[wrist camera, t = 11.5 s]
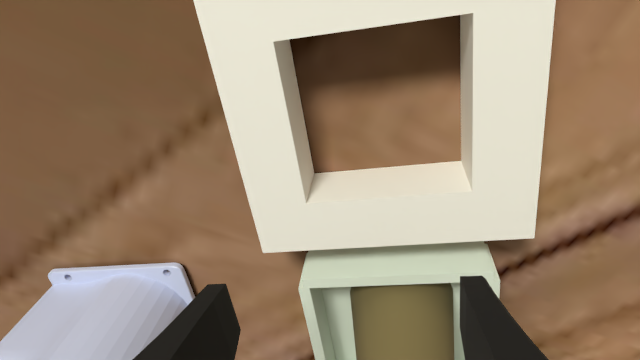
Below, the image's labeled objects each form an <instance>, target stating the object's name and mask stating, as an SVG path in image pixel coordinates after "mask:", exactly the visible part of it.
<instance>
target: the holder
mask: <svg viewBox="0 0 640 360" xmlns="http://www.w3.org/2000/svg"><path fill="white" fill-rule="evenodd" d="M193 1H194V4H195V8H196V12H197V15H198V19H199V22H200V26H201V30H202V33H203V37H204V41H205V44H206V48H207V51H208V55H209V59H210V62H211V66H212V70H213V73H214V77H215V80H216V84H217V88H218V91H219V95H220V99H221V102H222V106H223V109H224V113H225V117H226V120H227V124H228V128H229V131H230V135H231V139H232V142H233V146H234V149H235V153H236V157H237V160H238V164H239V168H240V171H241V175H242V178H243V182H244V186H245V189H246V193H247V197H248V200H249V204H250V207H251V211H252V215H253V218H254V222H255V226H256V229H257V233H258V236H259V240H260V244H261V247H262V251H263V253H271V252H289V251H308V250H326V249H345V248H363V247H382V246H400V245H419V244H437V243H456V242H475V241H493V240H512V239H530V238H534V236H535V225H536V214H537V203H538V192H539V181H540V169H541V158H542V147H543V136H544V125H545V114H546V102H547V91H548V80H549V69H550V58H551V47H552V36H553V24H554V13H555V2H556V0H193ZM456 15H460V73H461V161H454V162H442V163H431V164H419V165H408V166H396V167H384V168H373V169H361V170H349V171H338V172H326V173H314V169H313V164H312V158H311V153H310V147H309V142H308V137H307V131H306V126H305V121H304V115H303V110H302V105H301V99H300V94H299V88H298V83H297V78H296V72H295V67H294V62H293V56H292V51H291V46H290V40H289V39H295V38H302V37H309V36H316V35H323V34H330V33H337V32H344V31H351V30H358V29H365V28H372V27H379V26H386V25H393V24H400V23H407V22H414V21H421V20H428V19H435V18H442V17H449V16H456Z"/></svg>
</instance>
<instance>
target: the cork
mask: <svg viewBox="0 0 640 360" xmlns="http://www.w3.org/2000/svg"><path fill="white" fill-rule="evenodd" d="M350 299H351V309H352V319H353V329H354V340H355V350H356V360H454V315H453V288H452V286H451V283H435V284H408V285H382V286H356V287H351V290H350Z"/></svg>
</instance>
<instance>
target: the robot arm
mask: <svg viewBox="0 0 640 360" xmlns="http://www.w3.org/2000/svg"><path fill="white" fill-rule="evenodd" d="M167 270H169V271H170V272H169V271H167ZM48 278H49V280H50V281H51V283H52V287H51V288H50V289H49V290H48V291H47V292H46V293H45V294H44V295H43V296H42V297H41V298H40V299H39V301H38V302H37V303H36V304H35V305H34V306H33V307H32V308H31V309H30V310H29V311H28V312H27V313H26V314H25V316H24V317H23V318H22V319H21V320H20V321H19V322H18V323H17V324H16V325H15V326H14V327H13V328H12V330H11V331H10V332H9V333H8V334H7V335H6V336H5V337H4V338H3V339H2V340H1V341H0V360H234V358H235V354H236V350H237V345H238V340H239V335H240V330H241V329H240V326H239V323H238V320H237V317H236V314H235V311H234V308H233V305H232V302H231V299H230V295H229V292H228V289H227V286H226V284H210V285H207V286H206V287H205V288H204V289H203V290H202V291H201V292H200V293H199V294H198V295H197V296H196V297H195V295H194V293H193V290H192V288H191V285H190V282H189V280H188V277H187V275H186V272H185V270H184V268H183V266H182V265H181V264H179V263H157V264H138V265H119V266H99V267H80V268H61V269H52V270H51V271H50V272H49V274H48ZM460 332H461V338H462V345H463V351H464V356H465V360H548V359H547V357H546V356H545V355H544V354H543V353H542V352H541V351H540V350H539V349H538V347H537V346H536V345H535V344H534V343H533V342H532V341H531V339H530V338H529V337H528V336H527V335H526V333H525V332H524V331H523V330H522V328H521V327H520V326H519V325H518V324H517V322H516V321H515V320H514V319H513V317H512V316H511V315H510V313H509V312H508V311H507V309H506V308H505V307H504V305H503V304H502V303H501V301H500V300H499V298H498V297H497V295H496V294H495V293H494V291H493V290H492V288H491V286H490V285H489V283H488V282H487V280H486V279H485V278H484V277H483V276H460Z"/></svg>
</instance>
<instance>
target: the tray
mask: <svg viewBox="0 0 640 360" xmlns="http://www.w3.org/2000/svg"><path fill="white" fill-rule="evenodd" d="M460 276H483V277H484V278H485V279H486V280H487V282H488V283H489V285H490V286H491V288H492V290H493V291H494V293H495V294H496V295H497V297H498V298H499V296H500V279H499V276H498V273H497V270H496V268H495V265H494V262H493V259H492V256H491V253H490V250H489V247H488V245H487V244H484V241H475V242H456V243H437V244H419V245H400V246H382V247H363V248H345V249H326V250H308V253H306V258H305V262H304V266H303V271H302V275H301V280H300V284H299V288H298V289H299V293H300V297H301V301H302V306H303V310H304V314H305V318H306V322H307V327H308V331H309V335H310V339H311V343H312V347H313V352H314V356H315V360H356V350H355V340H354V329H353V319H352V309H351V299H350V290H351V287H356V286H382V285H408V284H435V283H451V286H452V288H453V315H454V360H465V356H464V351H463V345H462V338H461V332H460Z"/></svg>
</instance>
